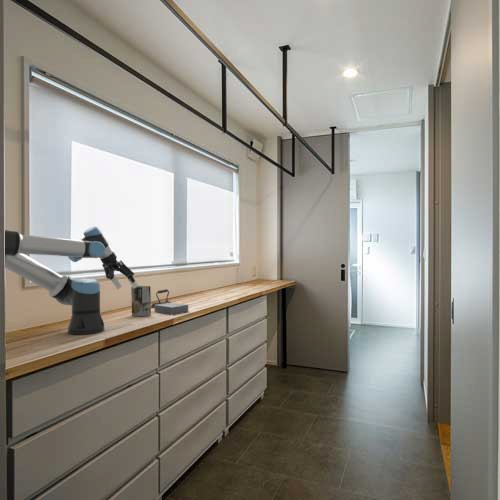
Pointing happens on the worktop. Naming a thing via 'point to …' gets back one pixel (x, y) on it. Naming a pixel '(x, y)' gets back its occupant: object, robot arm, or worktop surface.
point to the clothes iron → (159, 300)
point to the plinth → (171, 308)
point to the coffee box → (141, 301)
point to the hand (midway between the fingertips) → (127, 287)
